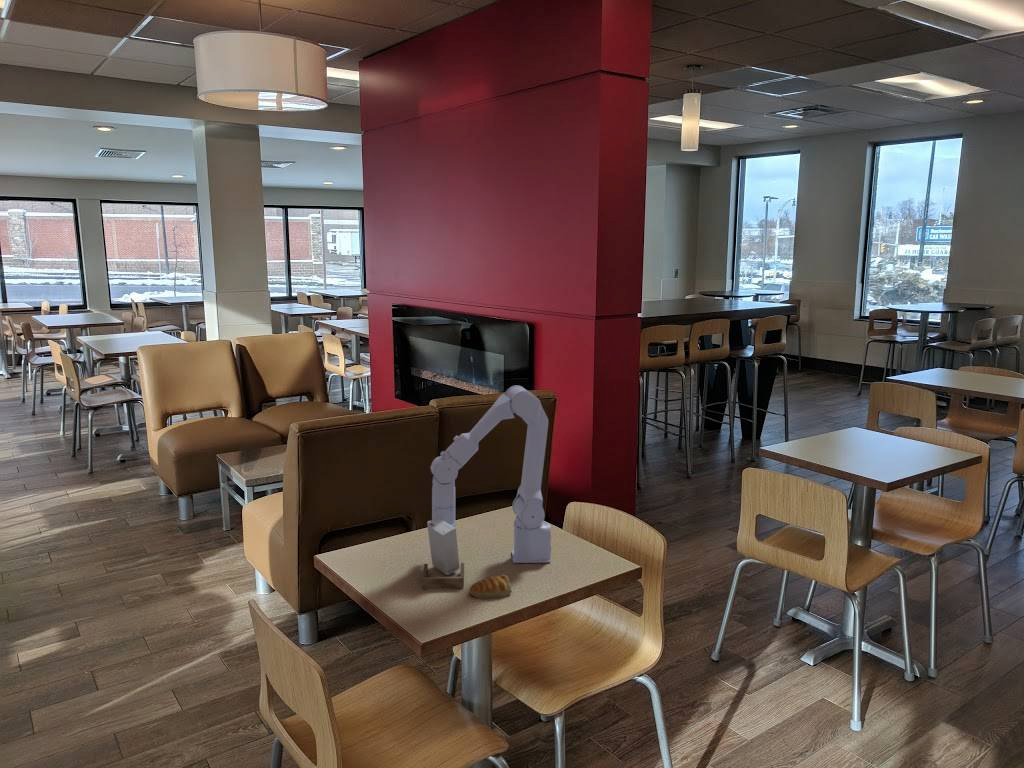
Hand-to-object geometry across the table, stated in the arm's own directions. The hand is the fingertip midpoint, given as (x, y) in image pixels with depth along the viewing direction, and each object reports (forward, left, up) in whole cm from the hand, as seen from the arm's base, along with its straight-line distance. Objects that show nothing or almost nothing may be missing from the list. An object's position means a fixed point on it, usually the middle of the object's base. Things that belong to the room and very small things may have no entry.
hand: (443, 557), depth 185 cm
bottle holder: (0, +9, -2) cm, 9 cm away
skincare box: (-1, +4, -1) cm, 4 cm away
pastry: (-12, +16, -2) cm, 20 cm away
